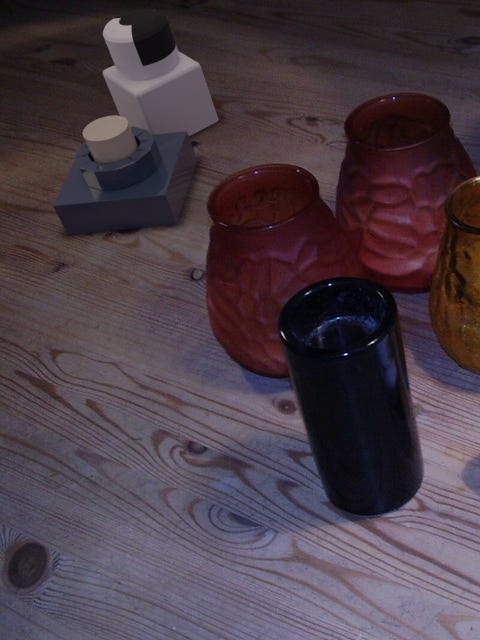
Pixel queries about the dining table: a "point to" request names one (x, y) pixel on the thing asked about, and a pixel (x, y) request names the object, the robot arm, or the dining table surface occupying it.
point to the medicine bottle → (155, 76)
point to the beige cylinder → (110, 139)
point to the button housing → (128, 186)
